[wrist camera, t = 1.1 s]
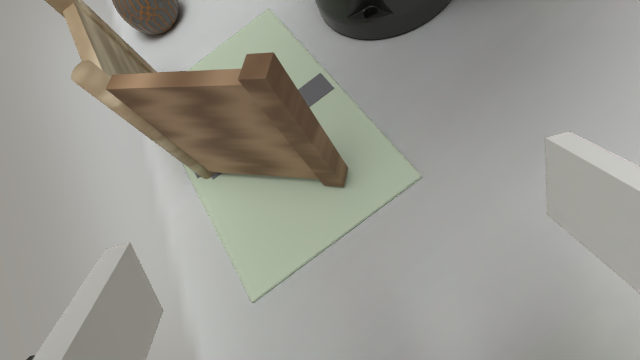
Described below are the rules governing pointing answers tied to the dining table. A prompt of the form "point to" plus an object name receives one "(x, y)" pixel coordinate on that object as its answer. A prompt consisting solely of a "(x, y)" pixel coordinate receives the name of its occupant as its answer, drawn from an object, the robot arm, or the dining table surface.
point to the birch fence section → (111, 70)
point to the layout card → (291, 192)
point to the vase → (148, 14)
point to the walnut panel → (236, 119)
